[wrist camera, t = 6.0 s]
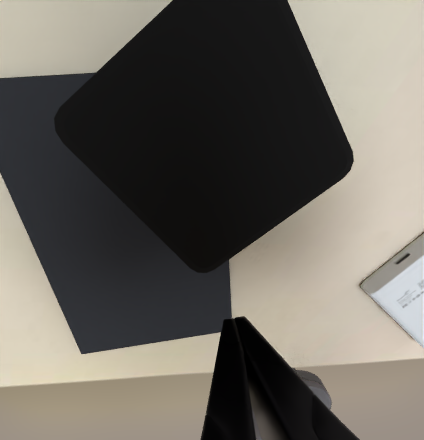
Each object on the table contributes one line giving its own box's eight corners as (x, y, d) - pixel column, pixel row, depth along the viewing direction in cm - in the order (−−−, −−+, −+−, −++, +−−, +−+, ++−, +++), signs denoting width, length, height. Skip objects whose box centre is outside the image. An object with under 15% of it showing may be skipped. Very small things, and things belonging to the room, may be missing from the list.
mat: (231, 326, 21) (232, 330, 20) (83, 350, 20) (81, 354, 19) (218, 67, 13) (219, 65, 12) (-35, 81, 12) (-42, 80, 11)
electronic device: (360, 167, 11) (255, -79, 7) (201, 280, 13) (40, 123, 9) (314, 155, 15) (228, -10, 11) (196, 243, 16) (82, 123, 13)
